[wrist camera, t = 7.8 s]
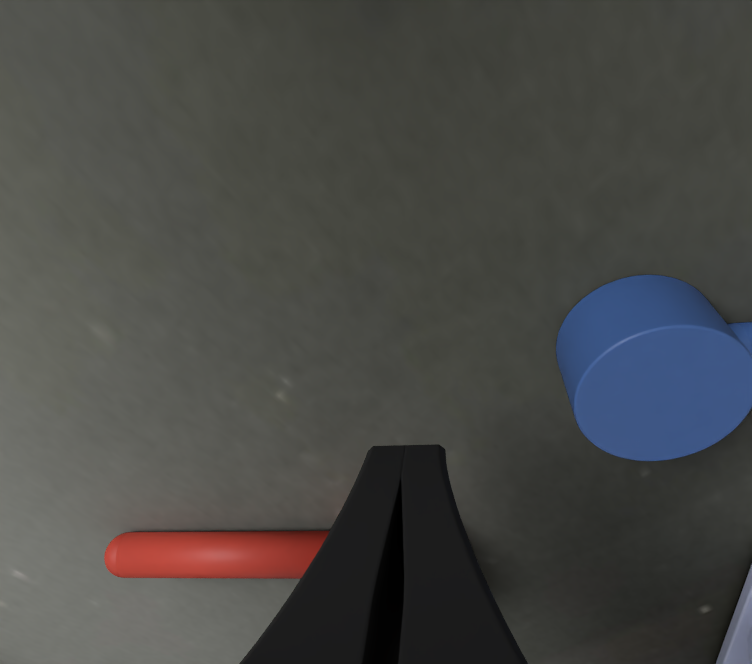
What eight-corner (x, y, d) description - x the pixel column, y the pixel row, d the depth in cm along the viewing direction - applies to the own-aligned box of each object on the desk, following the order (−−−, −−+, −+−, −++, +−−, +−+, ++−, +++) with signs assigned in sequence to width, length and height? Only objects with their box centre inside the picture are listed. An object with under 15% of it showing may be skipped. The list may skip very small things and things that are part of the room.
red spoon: (136, 569, 21) (106, 629, 19) (98, 500, 19) (61, 559, 17) (459, 570, 19) (462, 635, 17) (454, 495, 17) (457, 559, 15)
